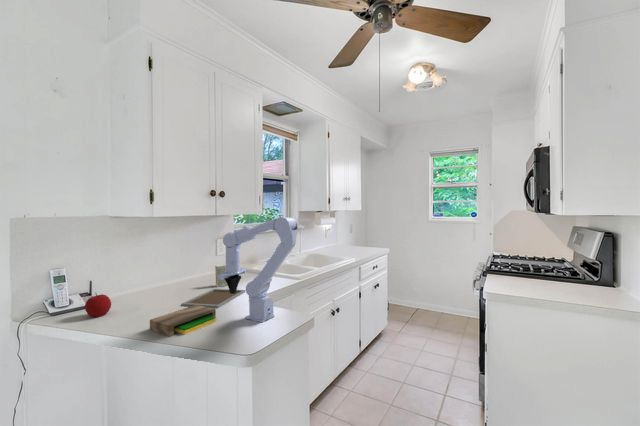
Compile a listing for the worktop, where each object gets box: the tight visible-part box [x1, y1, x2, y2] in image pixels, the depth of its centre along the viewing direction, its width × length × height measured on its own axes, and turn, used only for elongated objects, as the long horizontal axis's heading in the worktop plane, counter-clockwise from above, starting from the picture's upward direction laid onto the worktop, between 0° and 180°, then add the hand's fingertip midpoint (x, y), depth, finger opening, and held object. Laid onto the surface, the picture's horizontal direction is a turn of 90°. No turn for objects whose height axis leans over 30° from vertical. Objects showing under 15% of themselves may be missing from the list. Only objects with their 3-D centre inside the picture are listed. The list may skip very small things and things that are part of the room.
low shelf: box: [149, 305, 217, 337], centre depth 114 cm, size 12×20×4 cm, turn 150°
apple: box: [84, 292, 112, 318], centre depth 126 cm, size 9×9×10 cm
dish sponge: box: [174, 315, 216, 335], centre depth 112 cm, size 7×14×2 cm, turn 150°
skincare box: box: [215, 263, 228, 288], centre depth 174 cm, size 6×4×12 cm
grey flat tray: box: [180, 288, 246, 309], centre depth 150 cm, size 19×2×30 cm
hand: (232, 293), depth 124 cm, fingers closed
